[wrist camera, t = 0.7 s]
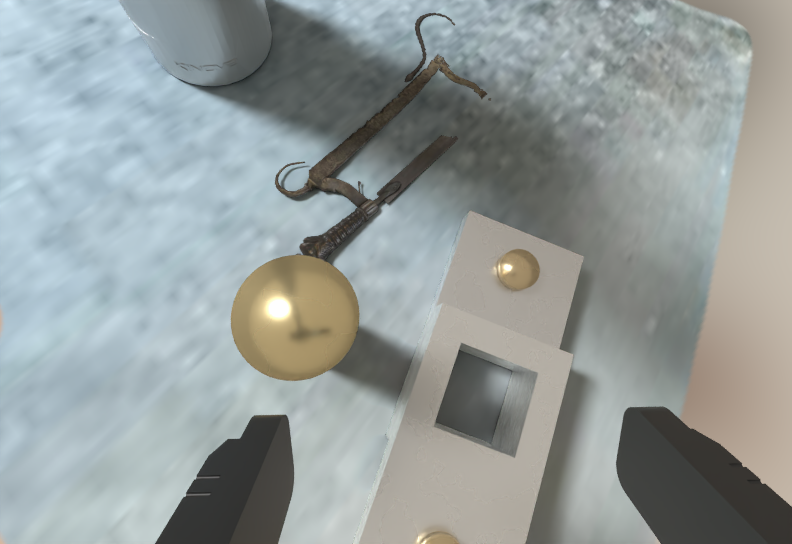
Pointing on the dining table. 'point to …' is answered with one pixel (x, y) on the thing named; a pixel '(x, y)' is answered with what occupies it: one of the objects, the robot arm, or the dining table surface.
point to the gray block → (522, 408)
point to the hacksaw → (336, 158)
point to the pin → (295, 317)
